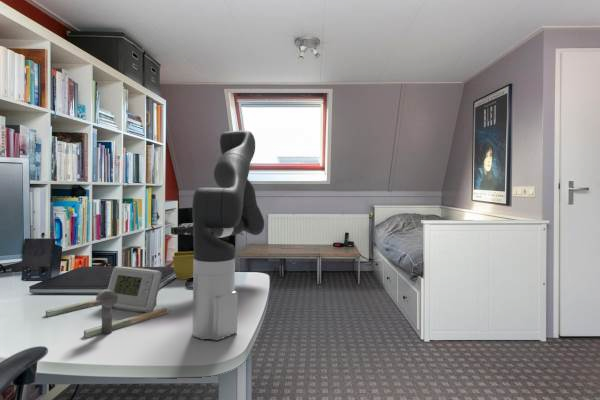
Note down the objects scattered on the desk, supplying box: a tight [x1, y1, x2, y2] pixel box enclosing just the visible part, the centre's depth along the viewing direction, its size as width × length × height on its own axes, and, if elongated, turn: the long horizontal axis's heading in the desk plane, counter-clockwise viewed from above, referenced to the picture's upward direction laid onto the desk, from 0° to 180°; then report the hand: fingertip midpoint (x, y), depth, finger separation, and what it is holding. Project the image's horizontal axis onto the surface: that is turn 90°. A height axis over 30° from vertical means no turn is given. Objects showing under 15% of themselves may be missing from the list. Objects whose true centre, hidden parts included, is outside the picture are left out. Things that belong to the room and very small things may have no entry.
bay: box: [45, 288, 169, 339], centre depth 93 cm, size 24×20×10 cm
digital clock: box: [106, 265, 163, 313], centre depth 100 cm, size 16×9×11 cm, turn 60°
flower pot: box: [172, 251, 194, 281], centre depth 133 cm, size 9×9×9 cm
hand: (172, 231), depth 109 cm, fingers closed
